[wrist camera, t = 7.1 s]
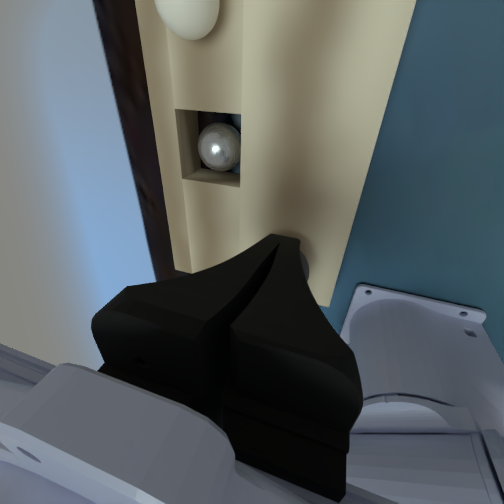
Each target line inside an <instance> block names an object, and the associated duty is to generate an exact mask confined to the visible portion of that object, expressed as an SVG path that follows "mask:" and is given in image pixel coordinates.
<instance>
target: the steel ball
mask: <svg viewBox="0 0 504 504" xmlns="http://www.w3.org/2000/svg"><path fill="white" fill-rule="evenodd" d="M198 152H199V155H200V158H201V159H202V161H203V162H204V163H205V165H207V166H208V167H209V168H211V169H213V170H216V171H227V170H230V169H232V168H234V167H235V166H236V165H237V164H238V163H239V161H240V160H241V136H240V134H239V132H238V131H237V130H236V129H235V128H234V127H233V126H231V125H229V124H227V123H223V122H216V123H212V124H210V125H208V126H207V127H206V128H204V130H203V131H202V132H201V134H200V136H199V139H198Z"/></svg>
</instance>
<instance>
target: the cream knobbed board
mask: <svg viewBox="0 0 504 504" xmlns="http://www.w3.org/2000/svg"><path fill="white" fill-rule="evenodd" d="M135 3H136V10H137V17H138V24H139V30H140V37H141V44H142V50H143V57H144V64H145V70H146V77H147V84H148V90H149V97H150V104H151V110H152V117H153V124H154V130H155V137H156V144H157V150H158V157H159V164H160V170H161V177H162V184H163V190H164V197H165V204H166V210H167V217H168V224H169V231H170V237H171V244H172V251H173V257H174V264H175V269H176V270H180V271H184V272H188V273H195V272H198V271H201V270H204V269H207V268H210V267H213V266H215V265H217V264H220V263H222V262H224V261H226V260H228V259H230V258H232V257H234V256H236V255H238V254H239V253H241V252H243V251H245V250H246V249H248V248H249V247H251V246H253V245H254V244H256V243H257V242H259V241H260V240H261V239H263V238H264V237H266V236H267V235H269V234H271V233H272V234H277V235H282V236H287V237H292V238H297V239H299V240H300V241H301V243H300V251H301V252H302V253H303V254H304V255H305V257H306V259H307V262H308V265H309V278H308V282H307V283H308V285H309V288H310V290H311V292H312V294H313V296H314V298H315V300H316V302H317V304H318V305H322V306H326V307H329V305H330V302H331V298H332V295H333V291H334V288H335V284H336V281H337V277H338V274H339V270H340V267H341V263H342V260H343V256H344V252H345V249H346V245H347V242H348V238H349V235H350V231H351V228H352V224H353V221H354V217H355V214H356V210H357V207H358V203H359V200H360V196H361V193H362V189H363V186H364V182H365V179H366V175H367V172H368V168H369V165H370V161H371V158H372V154H373V151H374V147H375V144H376V140H377V137H378V133H379V130H380V126H381V123H382V119H383V116H384V112H385V109H386V105H387V102H388V98H389V95H390V91H391V88H392V84H393V81H394V77H395V74H396V70H397V67H398V63H399V60H400V56H401V52H402V49H403V45H404V42H405V38H406V35H407V31H408V28H409V24H410V21H411V17H412V14H413V10H414V7H415V3H416V0H220V5H219V13H218V17H217V21H216V23H215V25H214V27H213V29H212V30H211V31H210V32H209V33H208V34H207V35H206V36H204V37H203V38H201V39H197V40H186V39H183V38H181V37H179V36H177V35H175V34H174V33H173V32H172V31H170V30H169V28H168V27H167V26H166V25H165V24H164V22H163V21H162V19H161V17H160V15H159V13H158V11H157V8H156V5H155V1H154V0H135ZM198 111H209V112H221V113H233V114H241V166H240V174H238V173H231V172H223V171H216V170H209V169H202V168H201V158H200V155H199V152H198V139H199V126H198Z"/></svg>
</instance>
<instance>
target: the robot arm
mask: <svg viewBox="0 0 504 504" xmlns="http://www.w3.org/2000/svg"><path fill="white" fill-rule="evenodd" d="M300 243H301V241H300V240H299V239H297V238H292V237H287V236H282V235H277V234H272V233H271V234H269V235H267V236H266V237H264V238H263V239H261V240H260V241H259V242H257V243H256V244H254V245H253V246H251V247H249V248H248V249H246V250H245V251H243V252H241V253H239V254H238V255H236V256H234V257H232V258H230V259H228V260H226V261H224V262H222V263H220V264H217V265H215V266H213V267H210V268H207V269H204V270H201V271H198V272H195V273H192V274H189V275H186V276H182V277H178V278H174V279H169V280H165V281H159V282H154V283H147V284H141V285H133V286H127V287H126V288H124V289H123V290H122V291H121V292H120V293H119V294H118V295H116V296H115V297H114V298H113V299H112V300H111V301H110V302H109V303H107V304H106V305H105V306H104V307H103V308H102V309H101V310H99V311H98V312H97V313H96V314H95V315H94V317H93V318H92V323H91V330H92V333H93V337H94V339H95V341H96V344H97V346H98V348H99V351H100V353H101V355H102V357H103V360H104V362H105V363H104V364H103V365H102V366H101V367H100V369H99V370H98V371H95V370H92V369H90V368H87V367H85V366H80V365H76V364H71V363H63V364H59V365H58V366H55V365H52V364H50V363H47V362H45V361H42V360H40V359H37V358H35V357H32V356H30V355H27V354H25V353H22V352H20V351H17V350H15V349H13V348H10V347H7V346H5V345H3V344H0V504H504V364H503V363H502V361H501V359H500V357H499V355H498V353H497V352H496V350H495V348H494V346H493V344H492V342H491V341H490V339H489V337H488V335H487V333H486V331H485V330H484V328H483V326H482V323H483V322H484V320H485V319H486V314H485V312H484V311H482V310H479V309H475V308H470V307H466V306H461V305H457V304H452V303H448V302H443V301H438V300H434V299H429V298H425V297H420V296H416V295H411V294H407V293H402V292H398V291H393V290H388V289H384V288H379V287H375V286H370V285H366V284H359V285H357V286H356V289H355V292H354V294H353V297H352V300H351V303H350V306H349V309H348V312H347V315H346V318H345V321H344V324H343V326H342V329H341V332H340V335H338V334H337V332H336V331H335V330H334V329H333V327H332V326H331V324H330V323H329V322H328V320H327V319H326V317H325V315H324V314H323V312H322V311H321V309H320V307H319V306H318V304H317V302H316V300H315V298H314V296H313V294H312V292H311V290H310V288H309V285H308V283H307V280H306V277H305V274H304V270H303V267H302V262H301V257H300ZM367 290H370V292H366V291H367ZM461 312H464V313H461ZM222 428H223V430H222Z"/></svg>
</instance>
